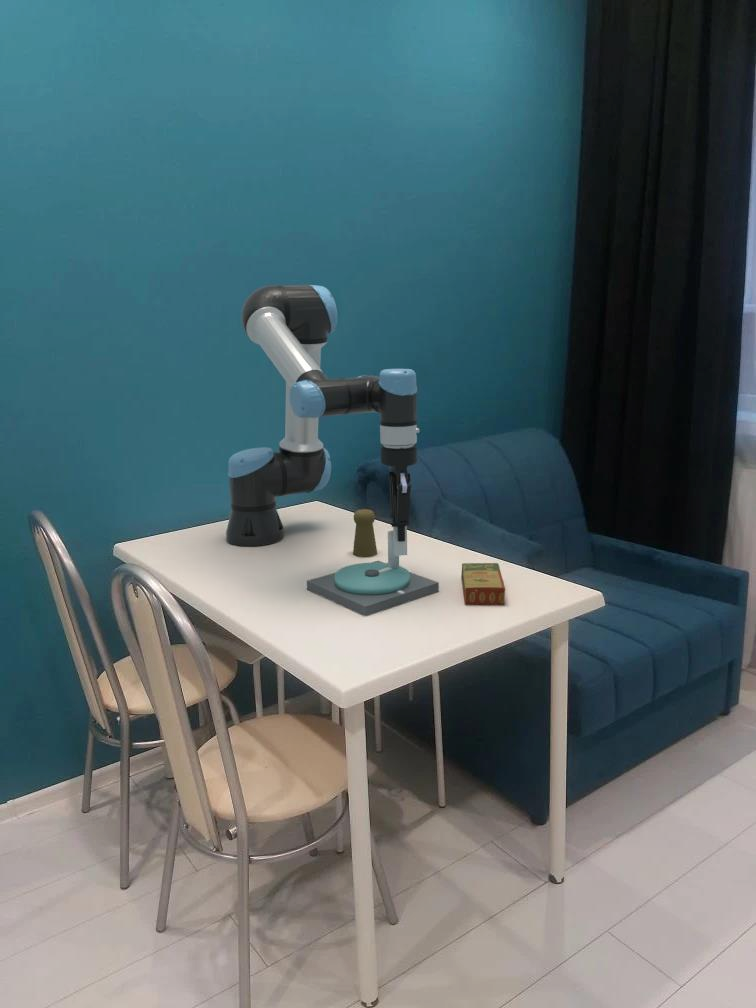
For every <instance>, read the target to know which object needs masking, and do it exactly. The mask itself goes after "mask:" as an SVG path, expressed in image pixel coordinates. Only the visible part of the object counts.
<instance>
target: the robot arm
mask: <svg viewBox="0 0 756 1008" xmlns="http://www.w3.org/2000/svg"><path fill="white" fill-rule="evenodd" d="M242 305H243V306H242V309H241V313H240V315H241V317H240V318H241V324H242V328H243V330H244V332H245V334H246V335H247V337H248V338H249V339H250V341H252V343H254V344H255V345H259V346H260V347H261V349H262V350H263V351H264V353H265V355H266V356H267V357H268V358H269V360H270V361H271V362H272V364H273V366H274V367H275V368H276V370H277V371H278V372H279V373H280V375H281V376H282V378H283V380H284V381H285V420H284V421H285V423H284V424H285V428H284V429H285V431H284V433H285V435H284V438H283V439H281V440H280V441H279V442H278V445H279V446H278V451H275V452H274V451H273V449H272V448H270V447H265V446H263V447H254V448H253V447H252V448H247V449H244V450H241V451H238V452H236V453H234V454H233V455H231V456H230V458H229V459H228V471H227V476H228V479H229V483H228V484H229V496H230V510H231V511H230V516H229V520H228V523H227V528H226V531H225V538H226V542H227V543H228V544H232V545H234V546H241V547H259V546H265V545H270V544H276V543H278V542H280V541H281V540H283V539H284V538H285V528H284V525H283V522H282V520H281V517H280V514H279V512H278V510H277V501H276V500H277V499H276V498H278V497H285V496H291V495H297V494H298V495H299V494H309V493H313V492H316V491H321V490H323V489H324V487H326V486H327V484H328V482H329V480H330V477H331V474H332V462H331V456H330V452H329V451H328V450H327V449H326V448H325V447H324V442H322V441H321V440H320V439H319V418H322V417H324V418H326V417H331V416H332V417H333V416H341V415H354V414H365V413H367V414H368V413H377V414H379V418H380V419H379V420H380V421H379V422H380V423H379V433H380V434H379V438H380V439H379V440H380V444H381V445H382V446H381V447H380V463H381V464H382V465H383V466H386V467H390V469H391V470H390V471H389V472H388V476H387V477H388V480H389V496H390V497H389V498H390V517H391V518H390V519H392V522H391V527H392V531H393V549H394V556H399V557H400V556H408V526H409V525H410V505H411V504H410V502H411V501H410V500H411V499H410V497H411V488H412V484H411V483H410V482H411V473H409V472H408V467H409V466H414V465H416V464H417V462H418V447H417V445H415V444H416V443H417V442H418V436H417V434H418V433H420V430H421V429H420V428H419V427H418V425H417V420H418V387H417V374H416V372H415V370H413V369H410V368H386V369H382V370H381V371H380V373H379V376H375V375H373V374H369V375H360V376H357V377H348V378H346V377H345V378H328V377H327V375H326V374H325V373H324V371H323V370H322V369H321V361H322V360H321V357H322V349H323V347H324V346H325V345H326V344H328V335H329V334H332V333H333V332H335V331H336V327H337V325H338V319H339V318H338V310H337V309H338V308H337V305H336V301H335V299H334V297H333V295H332V292H330V290H329V289H328V288H326V287H325V286H322V285H315V284H313V285H312V284H289V285H288V284H287V285H286V284H283V285H275V284H274V285H273V284H272V285H265V286H261V287H259V288H256V290H254V291H253V292H252V293H250V294H249V295H248V297H247V298H246V300H245V302H244V303H243V304H242Z"/></svg>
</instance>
